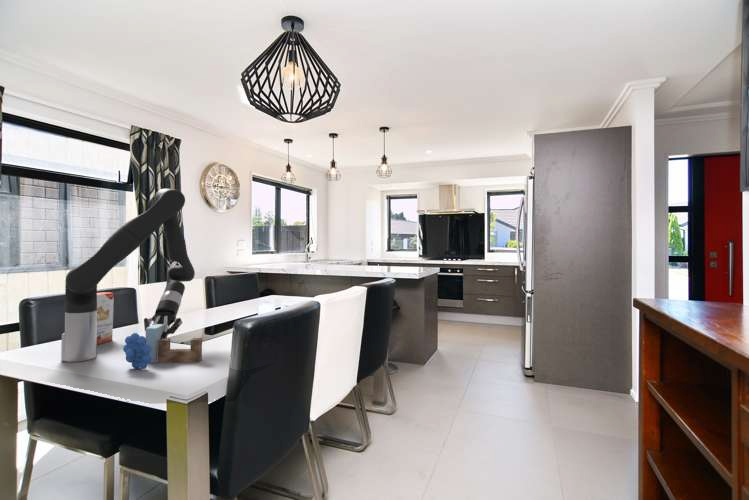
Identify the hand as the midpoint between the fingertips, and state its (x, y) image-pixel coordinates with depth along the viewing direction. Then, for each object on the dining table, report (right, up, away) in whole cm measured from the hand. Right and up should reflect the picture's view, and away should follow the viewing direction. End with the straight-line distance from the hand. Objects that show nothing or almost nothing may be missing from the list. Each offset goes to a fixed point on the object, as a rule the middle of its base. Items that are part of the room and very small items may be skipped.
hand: (155, 342), depth 141 cm
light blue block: (0, -6, 0) cm, 6 cm away
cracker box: (-37, -5, +19) cm, 42 cm away
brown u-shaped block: (+10, -6, -2) cm, 12 cm away
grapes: (0, -6, -12) cm, 14 cm away
